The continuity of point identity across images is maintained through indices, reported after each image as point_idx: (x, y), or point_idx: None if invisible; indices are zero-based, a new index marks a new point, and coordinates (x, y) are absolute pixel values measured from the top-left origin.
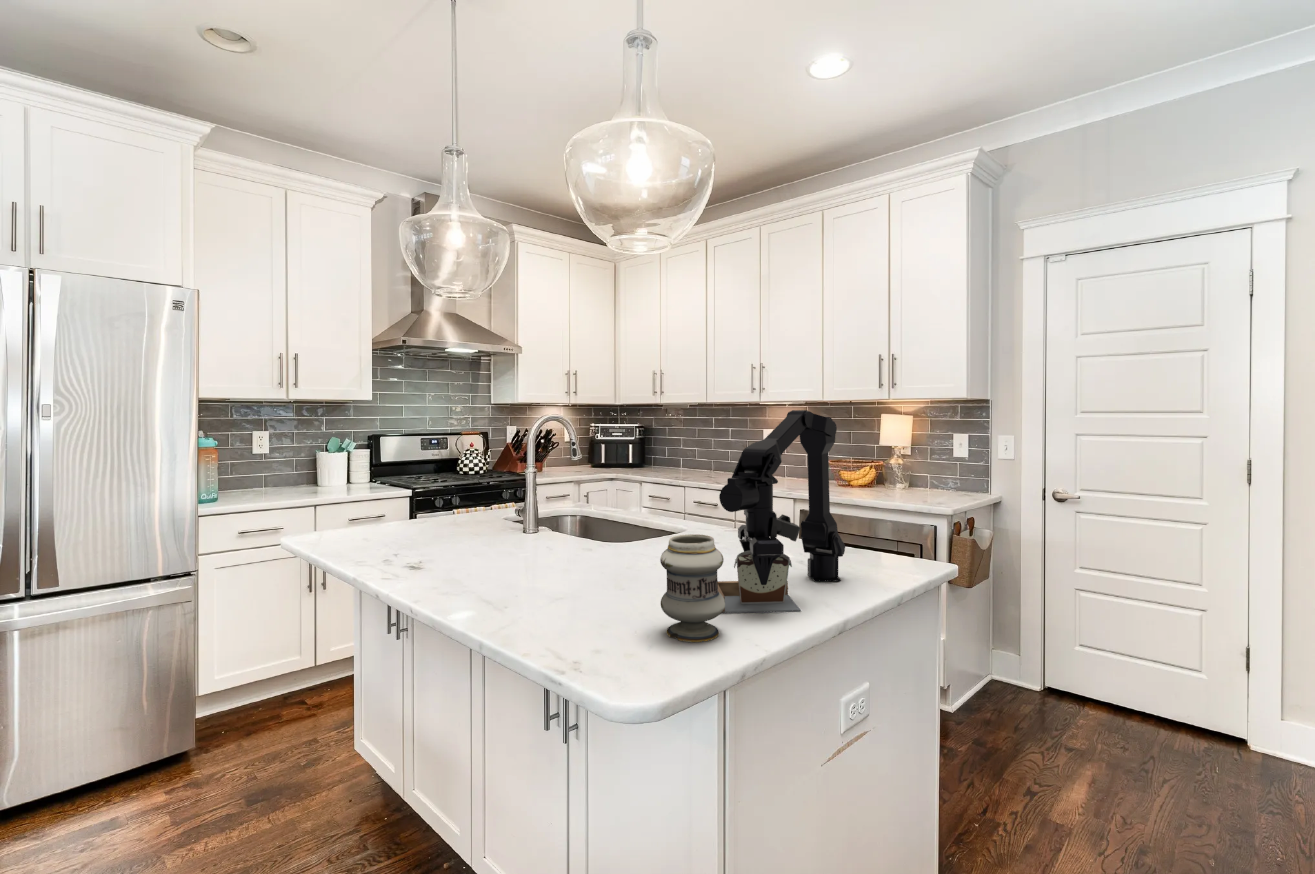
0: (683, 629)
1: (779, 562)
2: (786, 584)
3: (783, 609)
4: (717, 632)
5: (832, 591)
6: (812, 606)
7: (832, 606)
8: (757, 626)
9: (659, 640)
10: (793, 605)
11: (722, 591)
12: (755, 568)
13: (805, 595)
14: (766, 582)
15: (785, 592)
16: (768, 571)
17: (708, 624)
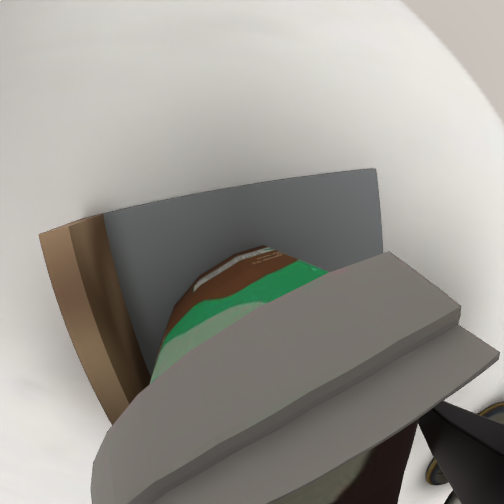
0: None
1: (407, 441)
2: (299, 260)
3: (375, 254)
4: (499, 408)
5: (32, 12)
6: (278, 93)
7: (268, 6)
8: (484, 337)
9: None
10: (309, 196)
11: None
12: (463, 499)
13: (78, 117)
14: (442, 403)
15: (101, 229)
16: (501, 432)
17: None
